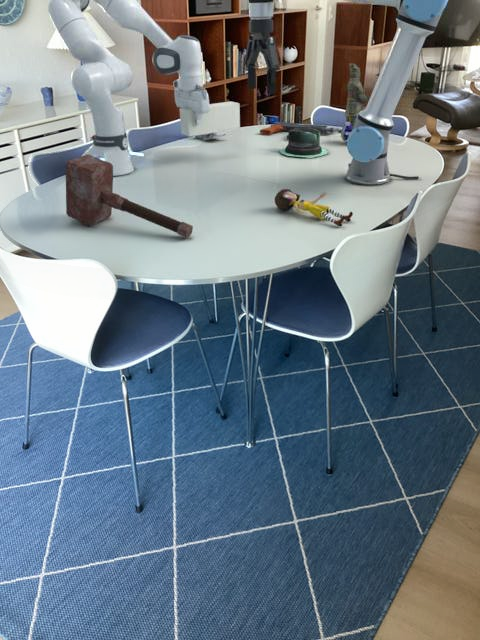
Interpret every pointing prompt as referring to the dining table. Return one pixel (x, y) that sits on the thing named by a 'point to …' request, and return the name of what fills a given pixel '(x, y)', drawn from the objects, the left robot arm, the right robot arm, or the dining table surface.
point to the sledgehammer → (105, 196)
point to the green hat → (304, 143)
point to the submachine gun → (291, 126)
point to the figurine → (308, 206)
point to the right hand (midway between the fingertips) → (261, 91)
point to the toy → (346, 130)
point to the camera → (208, 136)
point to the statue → (354, 95)
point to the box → (211, 119)
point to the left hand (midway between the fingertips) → (193, 122)
